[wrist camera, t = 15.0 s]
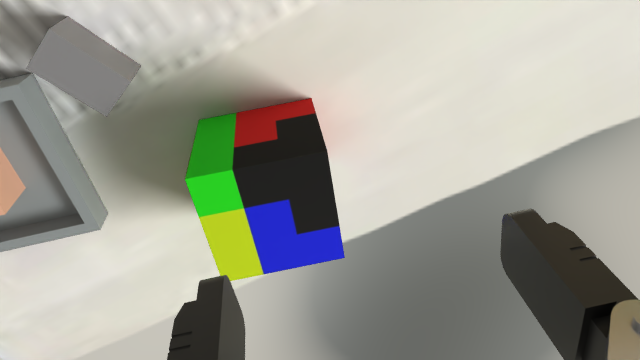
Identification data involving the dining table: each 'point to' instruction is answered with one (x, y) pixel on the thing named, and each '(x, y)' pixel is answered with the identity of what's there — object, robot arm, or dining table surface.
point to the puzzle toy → (264, 190)
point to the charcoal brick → (83, 65)
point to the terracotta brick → (8, 184)
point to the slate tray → (42, 171)
